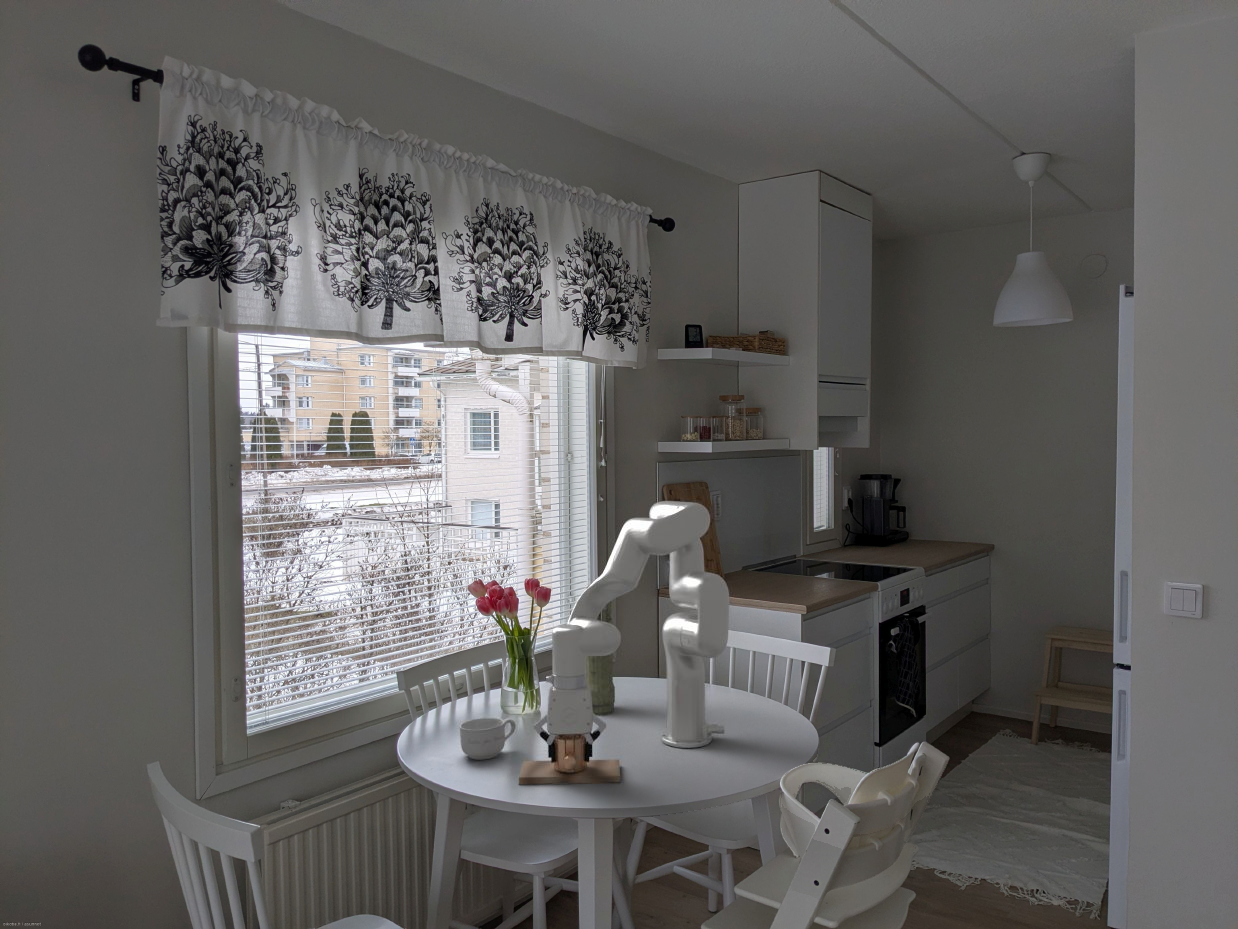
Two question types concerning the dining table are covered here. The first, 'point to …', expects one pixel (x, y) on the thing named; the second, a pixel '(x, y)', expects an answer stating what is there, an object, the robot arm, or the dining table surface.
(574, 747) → the wooden stave mug
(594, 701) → the olive green tall cylinder
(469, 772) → the dining table surface
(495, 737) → the teacup
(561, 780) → the duct board
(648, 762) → the dining table surface
